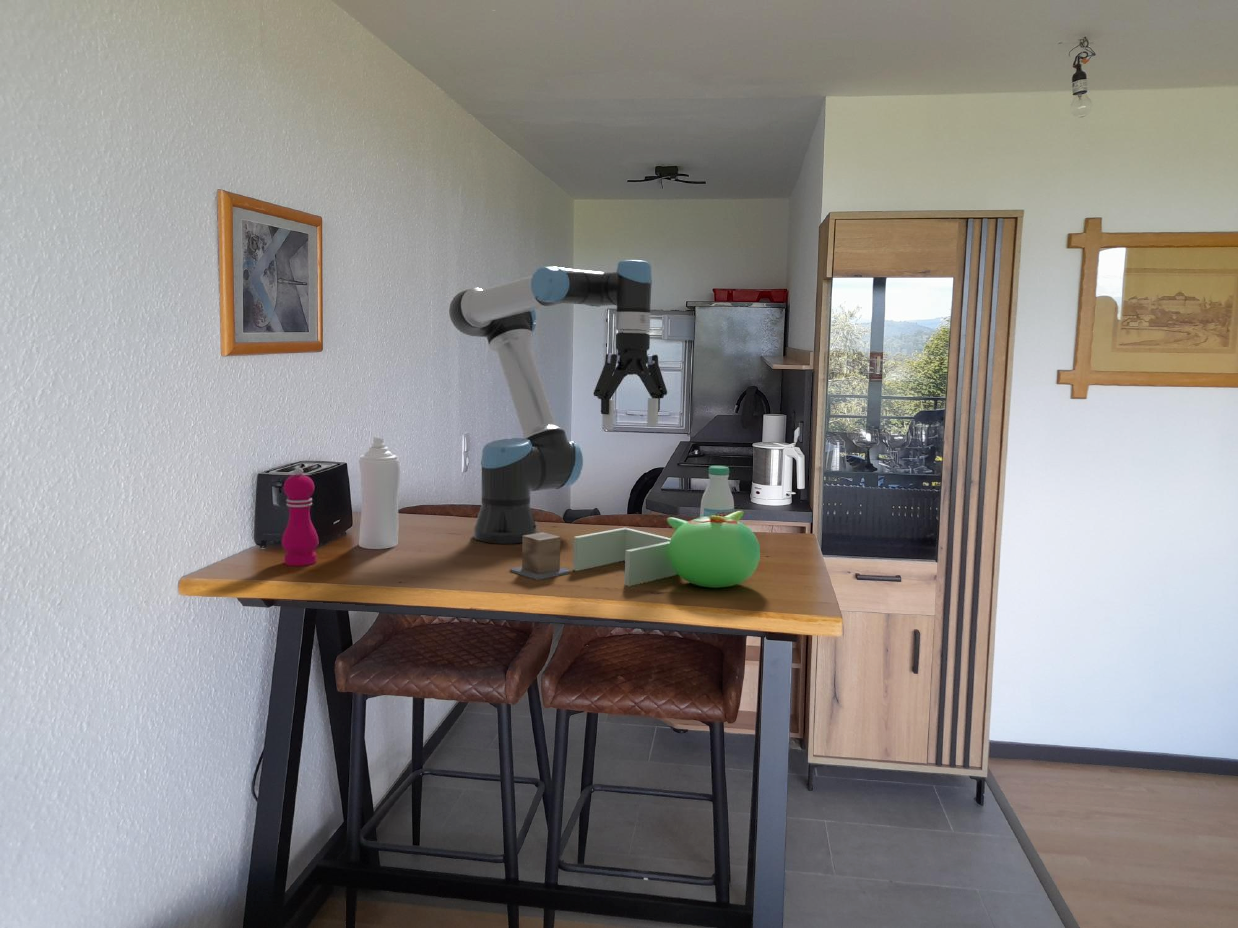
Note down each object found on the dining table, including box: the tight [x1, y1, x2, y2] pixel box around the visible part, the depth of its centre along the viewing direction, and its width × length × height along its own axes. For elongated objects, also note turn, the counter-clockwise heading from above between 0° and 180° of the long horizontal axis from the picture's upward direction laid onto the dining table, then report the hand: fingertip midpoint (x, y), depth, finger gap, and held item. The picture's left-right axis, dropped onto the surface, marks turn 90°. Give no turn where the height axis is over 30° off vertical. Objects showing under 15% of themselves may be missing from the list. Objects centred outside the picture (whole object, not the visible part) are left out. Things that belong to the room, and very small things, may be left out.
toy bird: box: [666, 510, 761, 589], centre depth 175 cm, size 18×17×15 cm
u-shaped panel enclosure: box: [572, 527, 678, 587], centre depth 183 cm, size 15×16×7 cm
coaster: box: [509, 565, 573, 581], centre depth 182 cm, size 9×9×1 cm
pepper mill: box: [281, 467, 320, 567], centre depth 182 cm, size 7×7×20 cm
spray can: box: [358, 437, 401, 550], centre depth 198 cm, size 12×11×25 cm
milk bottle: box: [699, 465, 735, 517], centre depth 201 cm, size 8×8×20 cm
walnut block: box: [521, 531, 561, 574], centre depth 181 cm, size 6×6×7 cm
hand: (630, 428), depth 198 cm, fingers open, 13 cm apart
